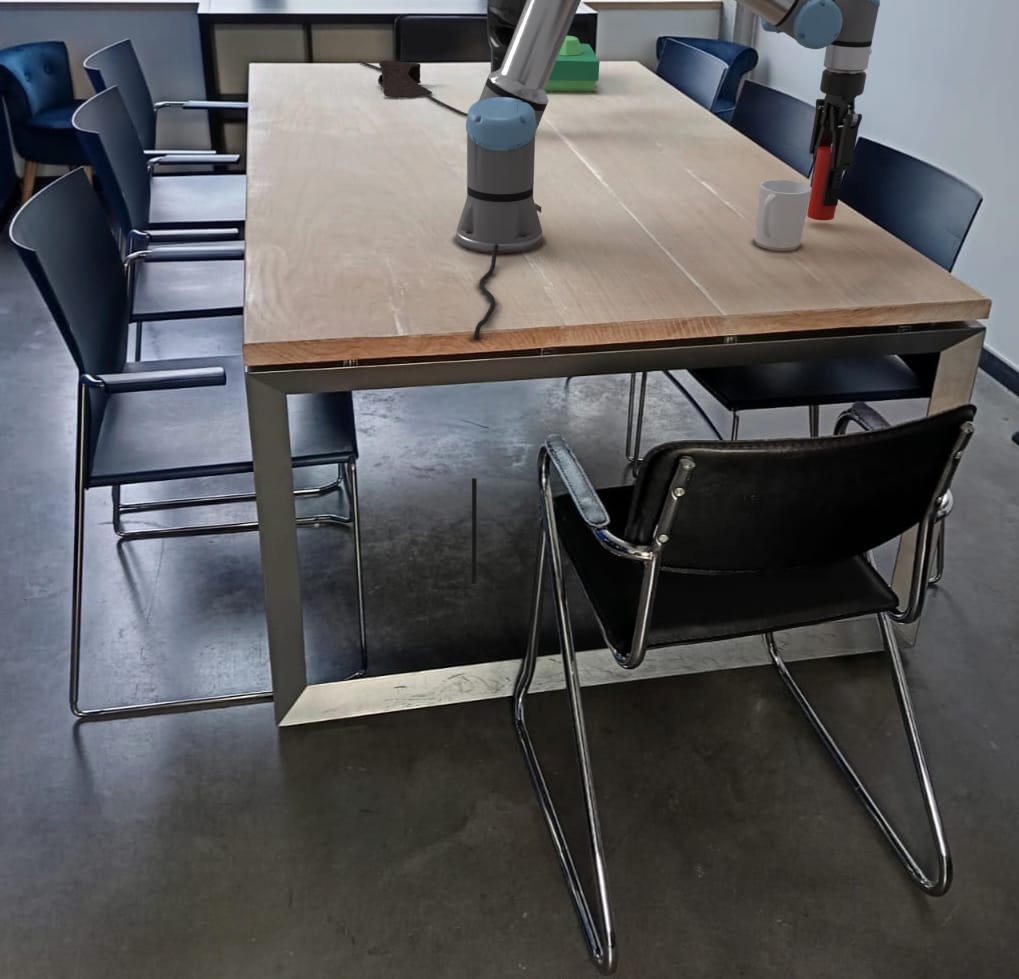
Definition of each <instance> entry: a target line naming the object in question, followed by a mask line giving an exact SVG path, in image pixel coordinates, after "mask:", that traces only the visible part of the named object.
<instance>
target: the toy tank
mask: <svg viewBox="0 0 1019 979" xmlns="http://www.w3.org/2000/svg"><path fill="white" fill-rule="evenodd" d="M600 62H601V61H600V60H599V58H598V57H597V55H596V53H595V52H594V50H593V48H592V47H591V45H590V43H581V42H580V40H579V38H578V37H576V36H573V35H566V38H565V40H564V43H563V45H562V48H561V50H560V52H559V55H558V57H557V60H556V62H555V64H554V67H553V69H552V72H551V74H550V77H549V79H548V81H547V84H546V86H545V92H595V89H596V82H599V78H600V77H599V76H600Z"/></svg>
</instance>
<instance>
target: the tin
mask: <svg viewBox="0 0 1019 979" xmlns="http://www.w3.org/2000/svg"><path fill="white" fill-rule="evenodd" d="M831 158H832V145H831V146H821V147H819V148H818V152H817V158H816V164H815V170H814V176H813V182H812V189H811V194H810V199H809V204H808V208H807V213H806V217H808V218H809V219H811V220H814V221H815V220H816V221H824V222H825V221H832V220H834V219H835V214H836V209H837V206H823V205H822V201H823V195H824V190H825V184H826V178H827V172H828V170H827V168H831Z"/></svg>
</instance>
